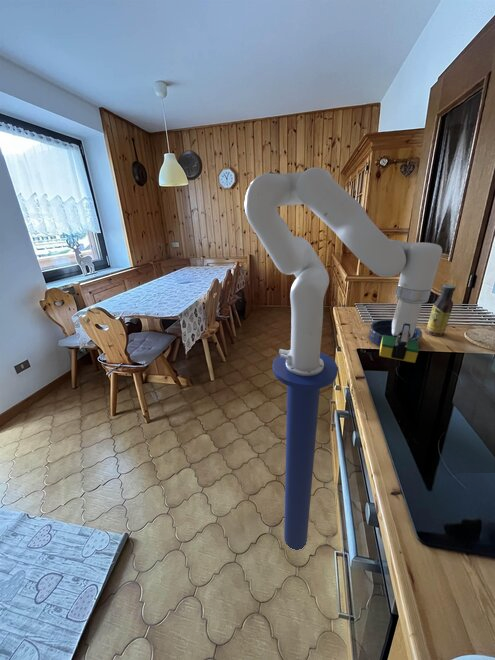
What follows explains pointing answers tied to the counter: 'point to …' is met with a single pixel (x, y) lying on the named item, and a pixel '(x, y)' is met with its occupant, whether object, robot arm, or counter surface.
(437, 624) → the counter surface
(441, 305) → the sauce bottle
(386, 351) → the sponge
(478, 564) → the counter surface
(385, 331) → the bowl
